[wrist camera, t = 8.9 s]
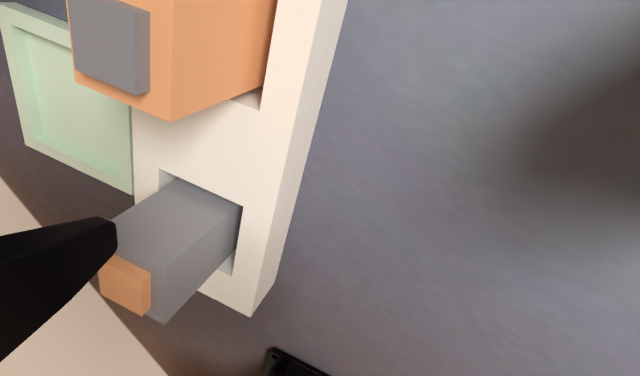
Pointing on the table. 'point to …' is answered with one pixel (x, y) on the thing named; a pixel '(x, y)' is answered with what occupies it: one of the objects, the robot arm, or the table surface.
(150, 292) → the twin plug
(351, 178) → the table surface
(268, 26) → the plug
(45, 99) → the tray
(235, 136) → the outlet strip
